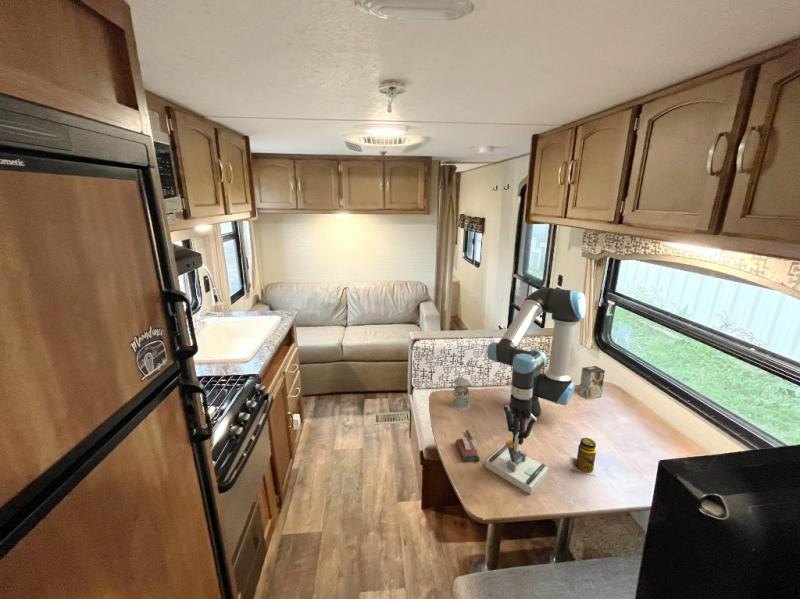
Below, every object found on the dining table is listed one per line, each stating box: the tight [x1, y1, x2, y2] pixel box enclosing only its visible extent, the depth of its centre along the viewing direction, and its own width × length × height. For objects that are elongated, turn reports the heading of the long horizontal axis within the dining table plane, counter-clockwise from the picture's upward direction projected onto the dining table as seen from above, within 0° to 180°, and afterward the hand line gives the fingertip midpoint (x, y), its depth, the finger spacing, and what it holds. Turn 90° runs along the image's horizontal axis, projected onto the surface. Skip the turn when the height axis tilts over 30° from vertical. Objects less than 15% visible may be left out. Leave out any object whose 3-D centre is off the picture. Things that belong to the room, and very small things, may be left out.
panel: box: [485, 444, 550, 495], centre depth 133 cm, size 14×19×6 cm
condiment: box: [569, 437, 597, 477], centre depth 134 cm, size 7×8×12 cm
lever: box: [505, 436, 523, 466], centre depth 133 cm, size 6×2×10 cm, turn 133°
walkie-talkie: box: [455, 429, 481, 463], centre depth 147 cm, size 9×4×20 cm
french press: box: [451, 361, 471, 412], centre depth 177 cm, size 10×12×25 cm
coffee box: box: [579, 365, 606, 400], centre depth 185 cm, size 9×6×16 cm
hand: (517, 449), depth 132 cm, fingers closed
